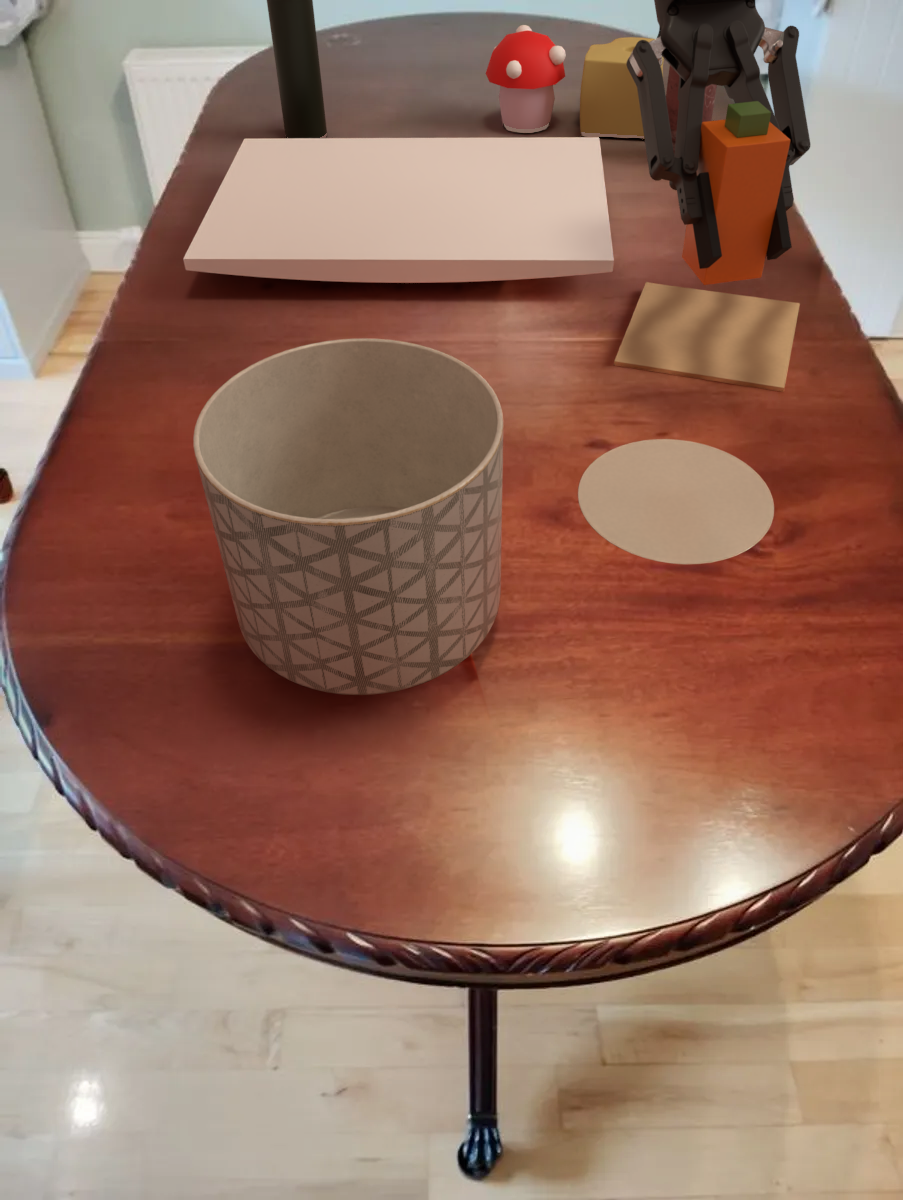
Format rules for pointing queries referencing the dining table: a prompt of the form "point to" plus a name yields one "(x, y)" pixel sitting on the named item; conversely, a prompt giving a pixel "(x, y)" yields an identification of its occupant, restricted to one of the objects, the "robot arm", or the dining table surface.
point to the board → (408, 210)
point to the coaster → (710, 336)
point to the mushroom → (526, 77)
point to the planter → (357, 510)
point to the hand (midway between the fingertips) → (745, 257)
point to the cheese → (610, 90)
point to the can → (674, 102)
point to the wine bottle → (297, 67)
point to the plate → (675, 501)
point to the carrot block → (740, 190)
